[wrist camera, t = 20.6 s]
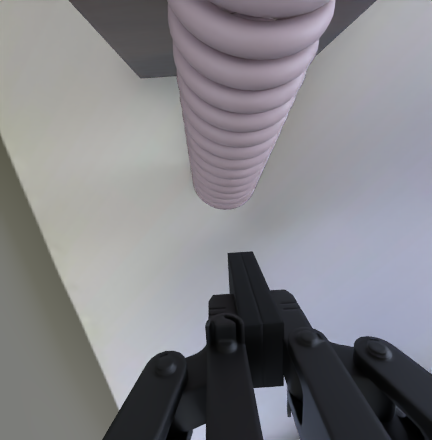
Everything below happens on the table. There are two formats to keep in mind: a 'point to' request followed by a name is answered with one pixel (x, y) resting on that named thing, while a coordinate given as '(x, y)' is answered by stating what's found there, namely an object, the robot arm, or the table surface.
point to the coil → (239, 84)
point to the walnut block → (160, 33)
